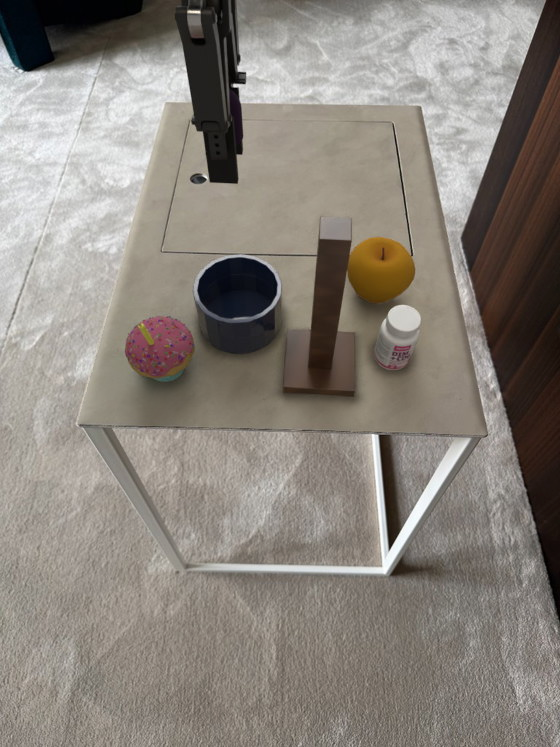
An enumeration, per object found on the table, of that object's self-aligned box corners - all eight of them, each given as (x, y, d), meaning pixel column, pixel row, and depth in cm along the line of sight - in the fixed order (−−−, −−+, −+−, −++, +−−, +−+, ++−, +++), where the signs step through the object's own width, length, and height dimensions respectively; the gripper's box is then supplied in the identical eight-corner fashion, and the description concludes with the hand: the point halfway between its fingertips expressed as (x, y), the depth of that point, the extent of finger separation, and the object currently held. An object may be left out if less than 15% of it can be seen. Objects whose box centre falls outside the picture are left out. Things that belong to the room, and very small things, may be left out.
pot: (194, 352, 72) (186, 320, 66) (206, 286, 78) (200, 251, 72) (278, 357, 72) (278, 325, 66) (284, 290, 78) (284, 256, 72)
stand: (282, 392, 69) (284, 261, 48) (287, 334, 74) (290, 192, 53) (353, 397, 69) (385, 267, 48) (353, 338, 73) (382, 197, 53)
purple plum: (202, 148, 50) (195, 101, 46) (207, 124, 52) (201, 76, 48) (241, 150, 50) (238, 103, 46) (245, 126, 51) (242, 78, 48)
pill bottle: (389, 377, 70) (401, 340, 63) (366, 351, 72) (375, 313, 65) (417, 360, 72) (432, 322, 64) (394, 335, 74) (406, 295, 66)
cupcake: (182, 402, 68) (165, 349, 58) (121, 383, 70) (94, 328, 59) (208, 348, 72) (197, 290, 62) (150, 331, 74) (130, 271, 64)
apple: (416, 285, 78) (431, 239, 70) (390, 328, 74) (403, 285, 66) (359, 261, 81) (368, 214, 73) (331, 302, 77) (338, 257, 69)
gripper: (241, -101, 29) (257, 228, 49) (266, -199, 37) (271, 115, 57) (101, -104, 29) (174, 224, 49) (158, -201, 38) (200, 112, 58)
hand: (226, 165), depth 53 cm, fingers closed on purple plum, 4 cm apart
